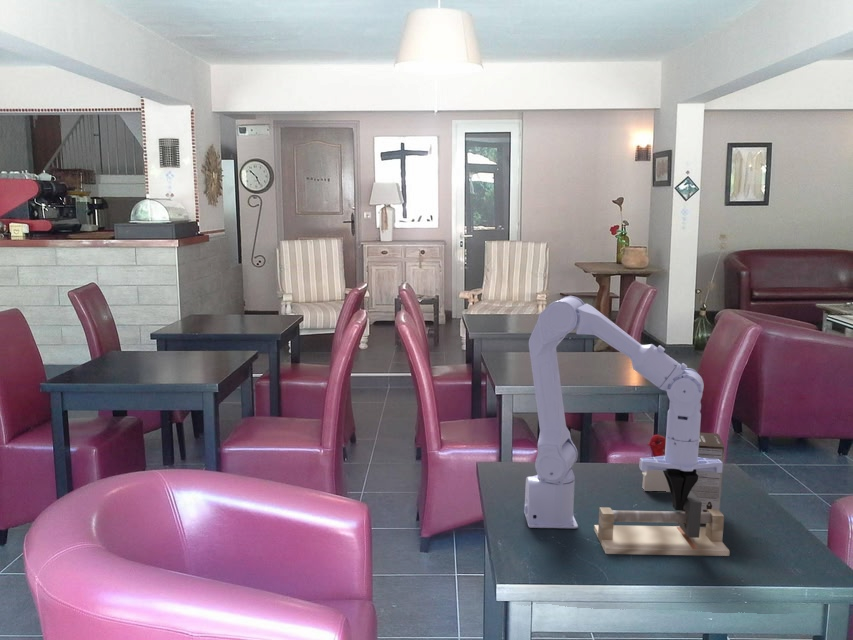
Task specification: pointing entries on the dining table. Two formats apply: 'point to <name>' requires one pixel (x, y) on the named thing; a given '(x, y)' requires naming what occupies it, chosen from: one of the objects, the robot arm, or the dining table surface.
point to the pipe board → (659, 533)
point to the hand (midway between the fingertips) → (677, 508)
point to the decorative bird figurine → (657, 445)
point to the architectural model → (655, 481)
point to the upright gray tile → (692, 516)
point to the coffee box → (709, 472)
